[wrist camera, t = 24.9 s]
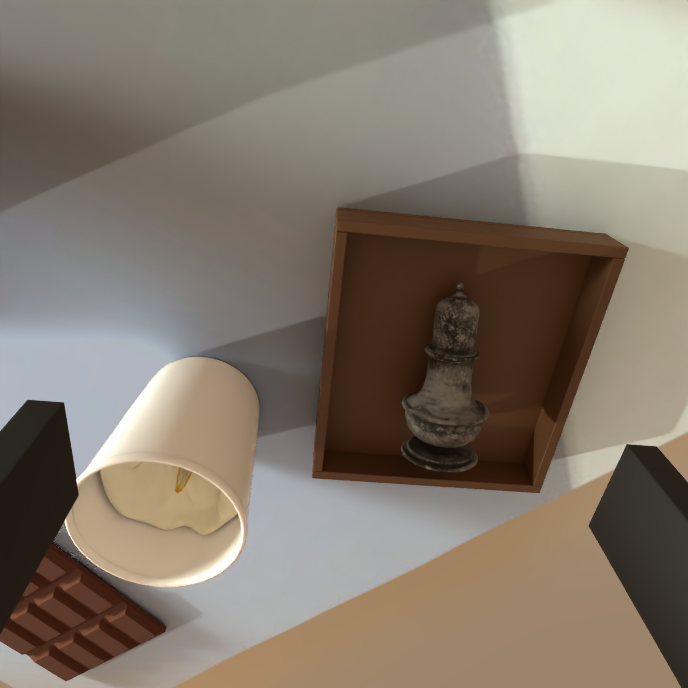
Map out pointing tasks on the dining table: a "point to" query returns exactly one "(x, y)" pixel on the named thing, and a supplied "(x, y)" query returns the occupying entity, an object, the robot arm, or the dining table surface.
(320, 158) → the dining table surface
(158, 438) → the candle holder
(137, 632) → the chocolate bar
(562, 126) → the dining table surface
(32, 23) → the dining table surface
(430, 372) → the salt shaker
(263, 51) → the dining table surface
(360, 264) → the tray
